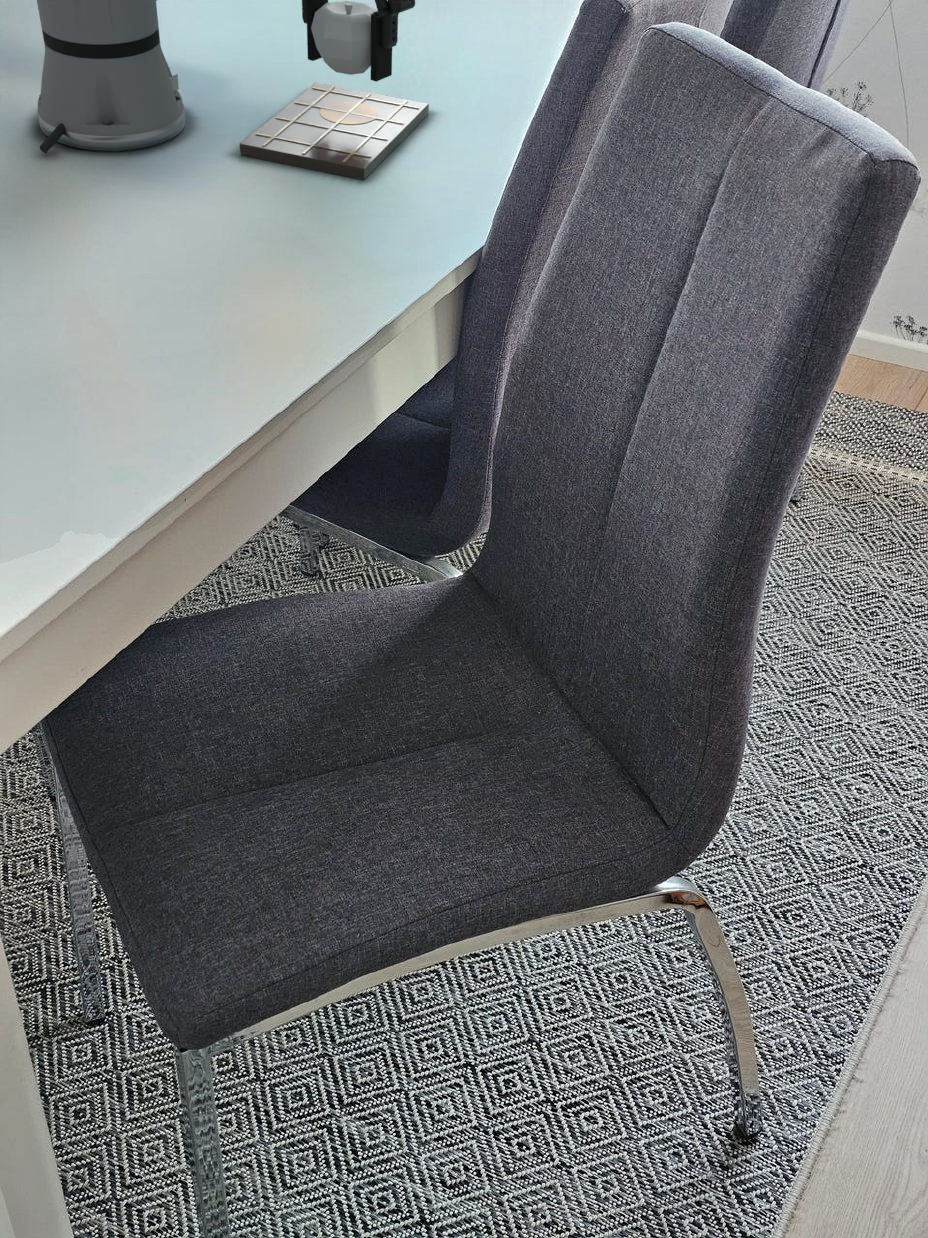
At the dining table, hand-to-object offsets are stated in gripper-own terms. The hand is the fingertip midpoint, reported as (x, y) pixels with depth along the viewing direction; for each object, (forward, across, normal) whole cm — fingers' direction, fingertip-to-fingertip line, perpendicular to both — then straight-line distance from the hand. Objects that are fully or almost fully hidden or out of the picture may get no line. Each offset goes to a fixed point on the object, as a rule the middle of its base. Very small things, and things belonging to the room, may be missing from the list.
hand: (349, 66), depth 130 cm
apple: (0, 0, 0) cm, 0 cm away
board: (+6, -1, +3) cm, 7 cm away
